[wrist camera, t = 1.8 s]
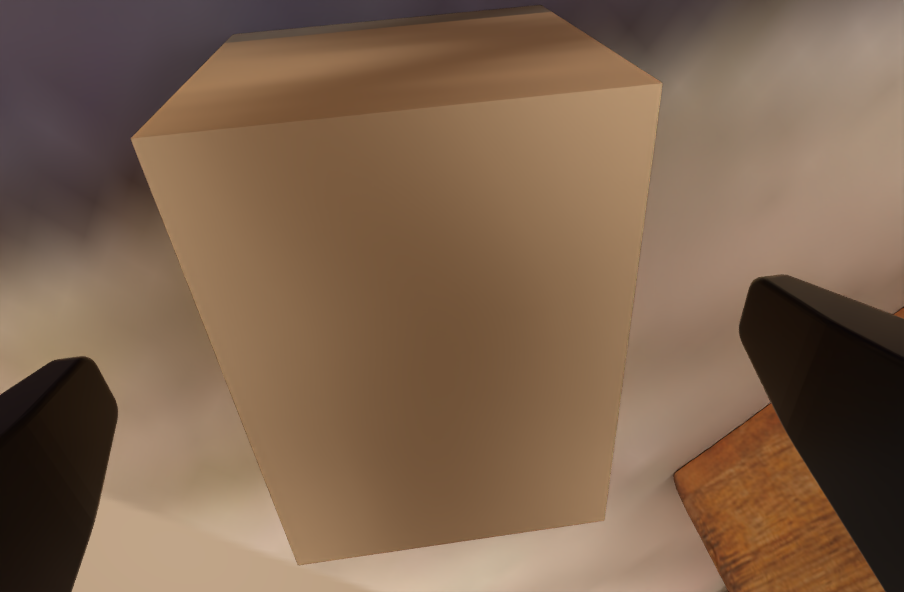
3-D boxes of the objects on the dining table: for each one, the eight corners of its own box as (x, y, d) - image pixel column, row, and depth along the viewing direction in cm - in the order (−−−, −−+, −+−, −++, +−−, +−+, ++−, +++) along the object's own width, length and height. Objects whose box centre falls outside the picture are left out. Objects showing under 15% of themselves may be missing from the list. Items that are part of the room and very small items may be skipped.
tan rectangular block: (538, 3, 10) (662, 82, 6) (534, 333, 14) (604, 520, 10) (234, 33, 9) (130, 138, 5) (319, 360, 13) (297, 565, 9)
